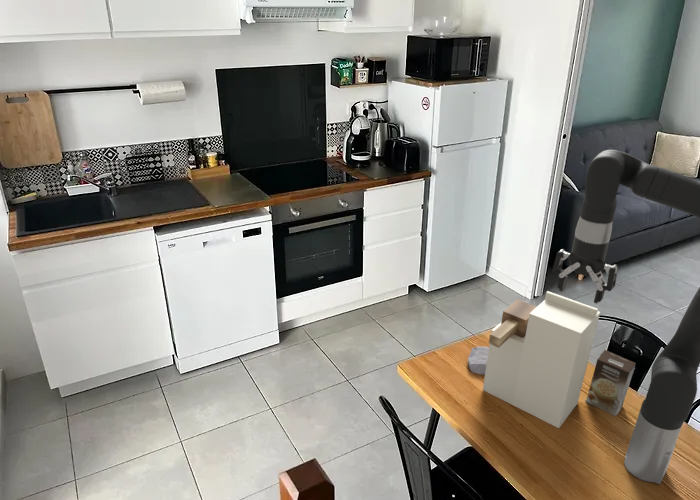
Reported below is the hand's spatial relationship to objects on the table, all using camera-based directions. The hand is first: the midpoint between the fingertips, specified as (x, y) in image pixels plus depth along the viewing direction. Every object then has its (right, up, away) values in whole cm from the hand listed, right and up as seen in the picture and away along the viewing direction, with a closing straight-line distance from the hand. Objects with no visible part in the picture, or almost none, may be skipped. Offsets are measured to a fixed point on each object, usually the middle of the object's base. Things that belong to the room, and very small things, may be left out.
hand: (578, 296), depth 133 cm
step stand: (-2, -33, +31) cm, 45 cm away
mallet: (-11, -13, +22) cm, 27 cm away
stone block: (-13, -27, +45) cm, 54 cm away
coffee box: (+19, -35, +28) cm, 49 cm away
